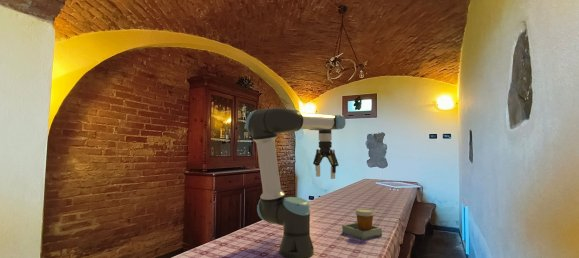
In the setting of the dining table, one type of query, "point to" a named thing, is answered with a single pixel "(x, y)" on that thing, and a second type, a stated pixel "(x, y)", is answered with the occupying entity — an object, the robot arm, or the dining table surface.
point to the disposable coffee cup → (364, 219)
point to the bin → (363, 235)
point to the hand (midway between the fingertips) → (325, 177)
